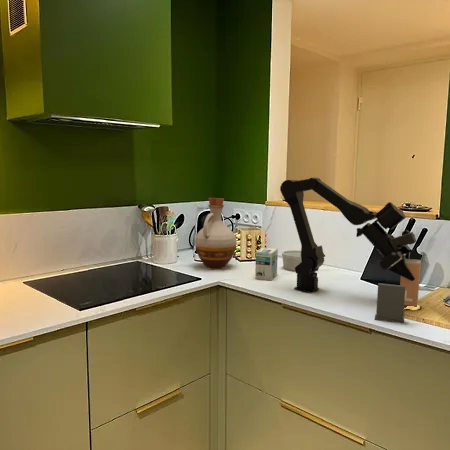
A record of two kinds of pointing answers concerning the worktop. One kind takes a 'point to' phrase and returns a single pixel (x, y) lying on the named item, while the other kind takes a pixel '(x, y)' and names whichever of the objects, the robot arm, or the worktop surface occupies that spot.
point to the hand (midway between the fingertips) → (415, 278)
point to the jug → (215, 238)
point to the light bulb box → (266, 263)
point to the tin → (411, 282)
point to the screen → (390, 303)
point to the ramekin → (291, 259)
